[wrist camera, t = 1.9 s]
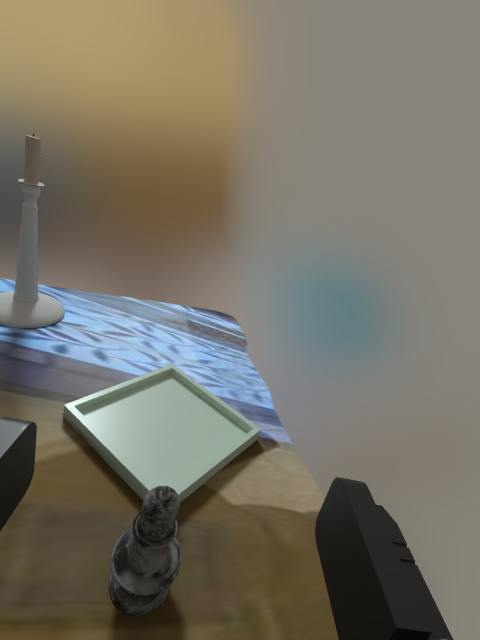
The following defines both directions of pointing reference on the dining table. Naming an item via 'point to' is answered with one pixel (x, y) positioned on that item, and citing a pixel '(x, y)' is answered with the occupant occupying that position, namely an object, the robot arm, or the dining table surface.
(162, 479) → the tray
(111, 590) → the dark grey chess piece
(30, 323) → the candlestick
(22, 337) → the dining table surface
